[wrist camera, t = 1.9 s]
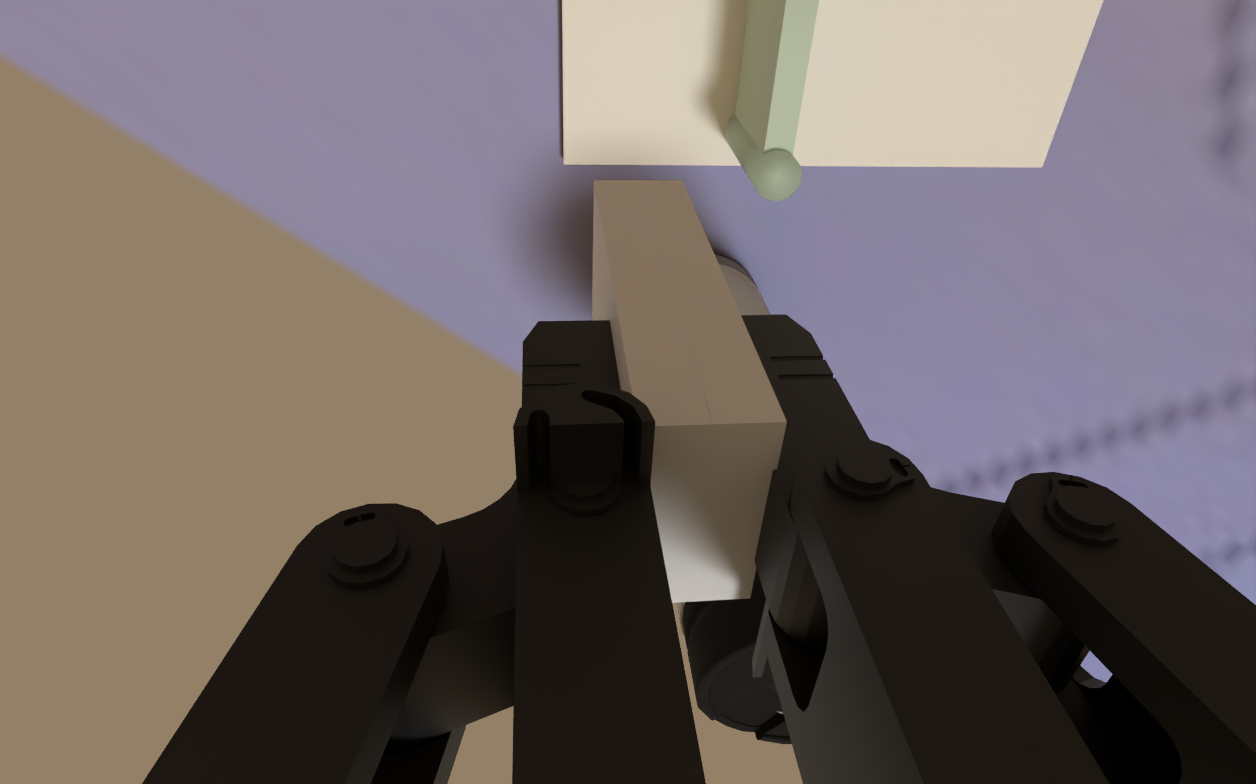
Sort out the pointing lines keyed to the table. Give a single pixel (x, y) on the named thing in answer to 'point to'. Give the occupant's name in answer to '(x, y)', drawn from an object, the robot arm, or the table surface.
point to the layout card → (825, 81)
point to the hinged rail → (772, 93)
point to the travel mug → (733, 617)
